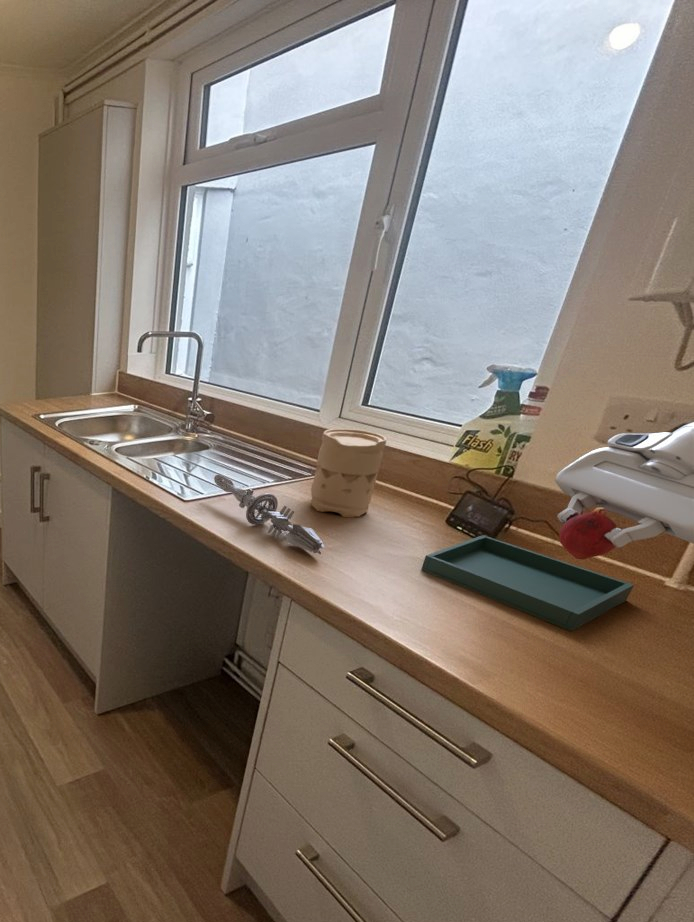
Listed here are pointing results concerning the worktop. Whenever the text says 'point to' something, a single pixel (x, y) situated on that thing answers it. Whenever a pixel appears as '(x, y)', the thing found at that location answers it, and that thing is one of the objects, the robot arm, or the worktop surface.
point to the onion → (587, 534)
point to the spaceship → (272, 516)
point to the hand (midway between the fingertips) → (585, 531)
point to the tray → (528, 581)
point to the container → (346, 471)
